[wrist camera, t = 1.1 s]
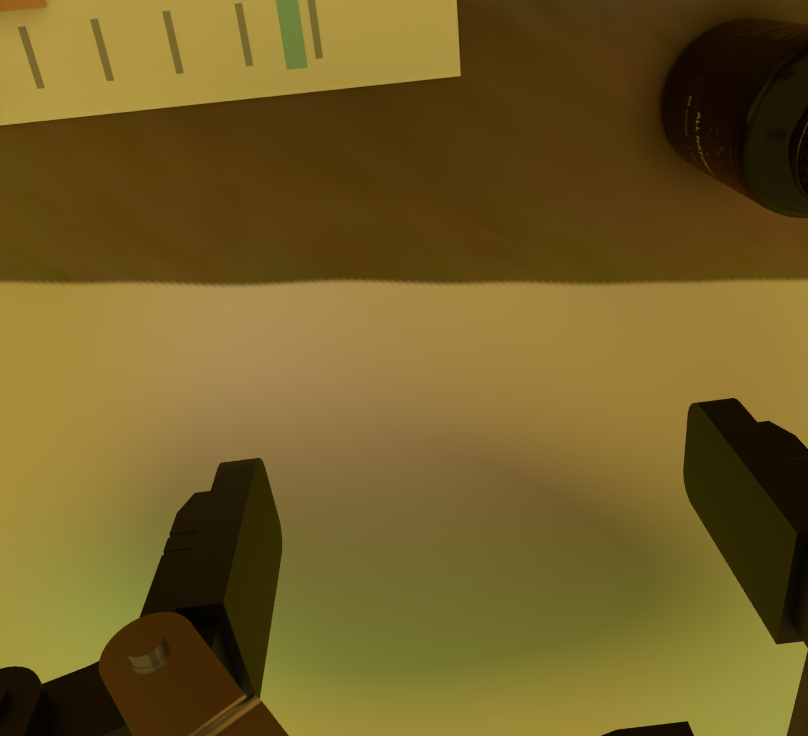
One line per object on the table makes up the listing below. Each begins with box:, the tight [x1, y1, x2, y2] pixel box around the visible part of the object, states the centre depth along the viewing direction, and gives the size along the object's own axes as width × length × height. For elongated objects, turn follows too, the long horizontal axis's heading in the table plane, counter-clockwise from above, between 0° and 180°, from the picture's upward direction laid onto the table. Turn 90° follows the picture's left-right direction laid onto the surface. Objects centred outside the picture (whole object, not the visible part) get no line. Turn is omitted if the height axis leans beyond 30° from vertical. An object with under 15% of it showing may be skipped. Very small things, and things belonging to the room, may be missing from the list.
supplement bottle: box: [663, 19, 808, 218], centre depth 29 cm, size 7×7×12 cm
